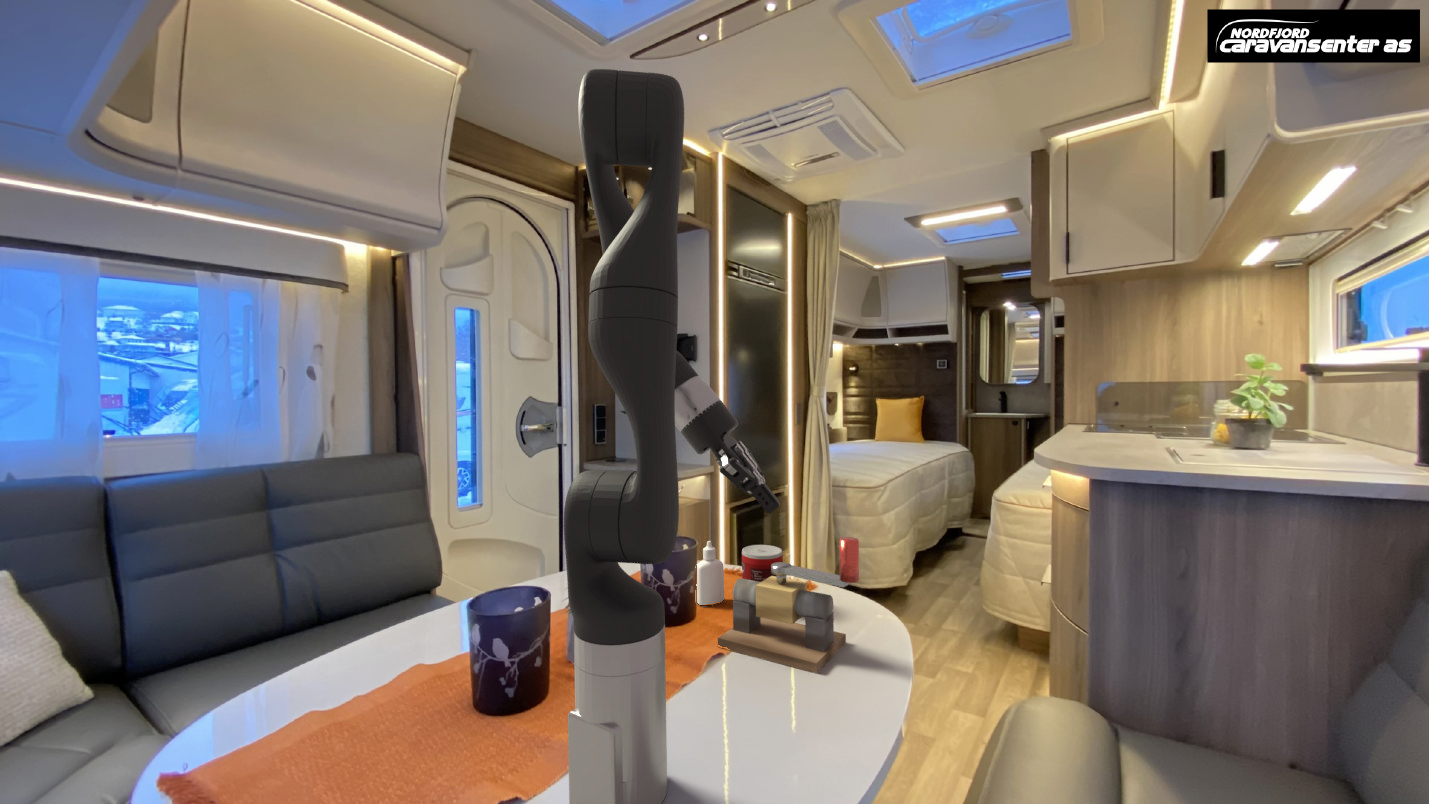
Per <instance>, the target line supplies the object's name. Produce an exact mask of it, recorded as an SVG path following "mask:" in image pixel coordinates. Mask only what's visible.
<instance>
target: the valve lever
mask: <svg viewBox="0 0 1429 804" xmlns="http://www.w3.org/2000/svg"><path fill="white" fill-rule="evenodd" d="M838 543H839V544H838V545H839V547H838V548H839V550H838V551H839V574H835V573H830V572H825V571H821V570H817V569H816V570H815V569H811V568H806V567H803V566H798V565H792V564H791V563H790V562H789V563H788V562H777V563H773V564H771V573H772V574H774V575H776V582H777V583H786V578H787V576H790V577H795V578H799V579H803V580H808V581H813V582H817V583H821V584H825V585H831V586H834V587H840V588H845V587H847V586H849V585H850V584H852V583H853V584H854V583H858V582H860V540H859V538H857V537H853V536H844V537H840V538H839V541H838Z"/></svg>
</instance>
